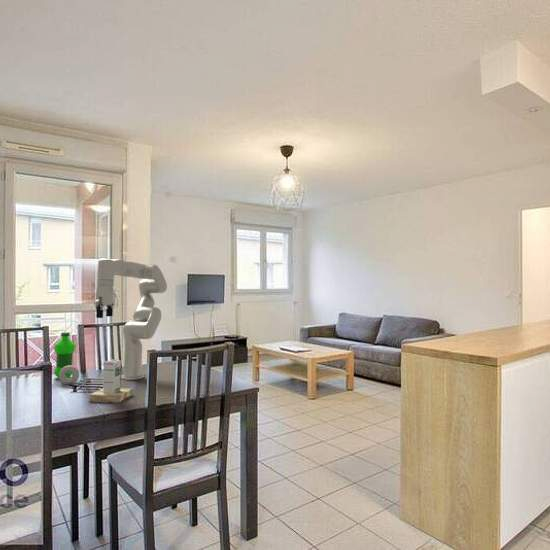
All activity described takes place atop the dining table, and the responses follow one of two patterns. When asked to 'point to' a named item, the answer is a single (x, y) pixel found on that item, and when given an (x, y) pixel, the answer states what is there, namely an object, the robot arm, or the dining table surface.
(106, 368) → the syrup box
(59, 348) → the plastic bottle
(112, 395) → the beech base
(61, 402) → the dining table surface
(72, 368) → the donut
